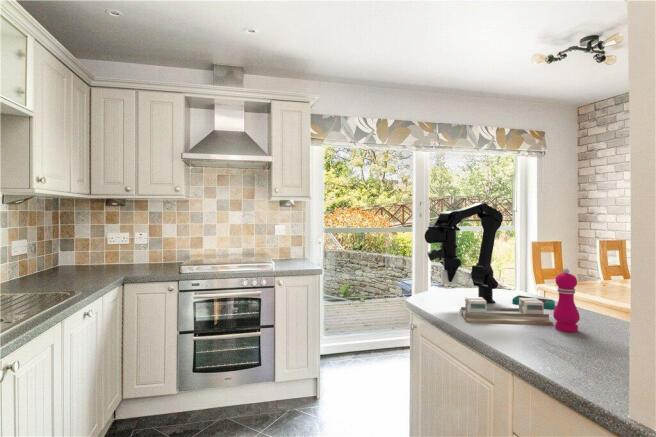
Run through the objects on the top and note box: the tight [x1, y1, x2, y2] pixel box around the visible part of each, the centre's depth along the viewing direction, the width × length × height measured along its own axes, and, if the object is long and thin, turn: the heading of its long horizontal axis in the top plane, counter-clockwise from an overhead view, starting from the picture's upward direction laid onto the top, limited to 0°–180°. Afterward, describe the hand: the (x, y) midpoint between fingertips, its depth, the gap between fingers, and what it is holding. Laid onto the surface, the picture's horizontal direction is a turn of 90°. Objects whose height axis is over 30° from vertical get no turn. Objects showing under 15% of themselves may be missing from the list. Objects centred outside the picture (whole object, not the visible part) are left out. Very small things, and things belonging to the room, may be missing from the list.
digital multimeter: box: [511, 295, 556, 310], centre depth 153 cm, size 7×15×3 cm, turn 47°
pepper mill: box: [553, 268, 581, 333], centre depth 121 cm, size 7×7×20 cm
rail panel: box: [459, 296, 554, 325], centre depth 135 cm, size 14×28×7 cm, turn 81°
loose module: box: [440, 269, 459, 285], centre depth 151 cm, size 5×6×5 cm
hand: (449, 280), depth 151 cm, fingers closed on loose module, 5 cm apart
